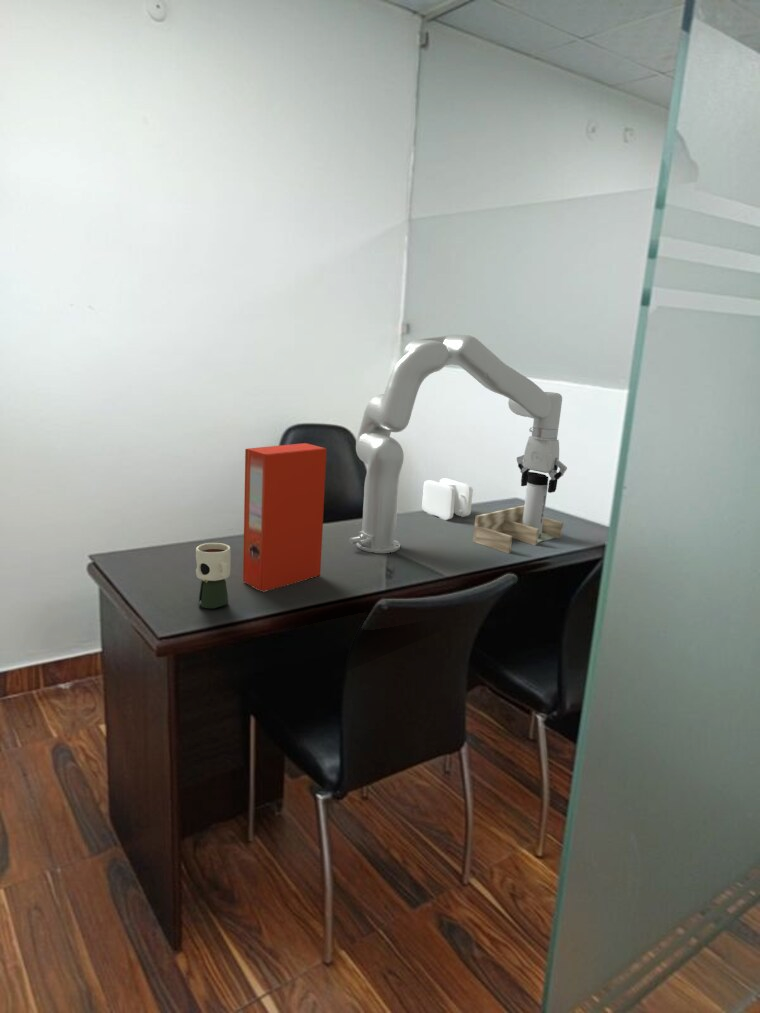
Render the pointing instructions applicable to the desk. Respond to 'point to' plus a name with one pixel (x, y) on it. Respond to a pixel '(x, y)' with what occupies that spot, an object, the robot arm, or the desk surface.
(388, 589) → the desk surface
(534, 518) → the travel mug
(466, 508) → the cable organizer
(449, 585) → the desk surface
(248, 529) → the file binder
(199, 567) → the character mug
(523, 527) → the desk dock
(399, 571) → the desk surface
